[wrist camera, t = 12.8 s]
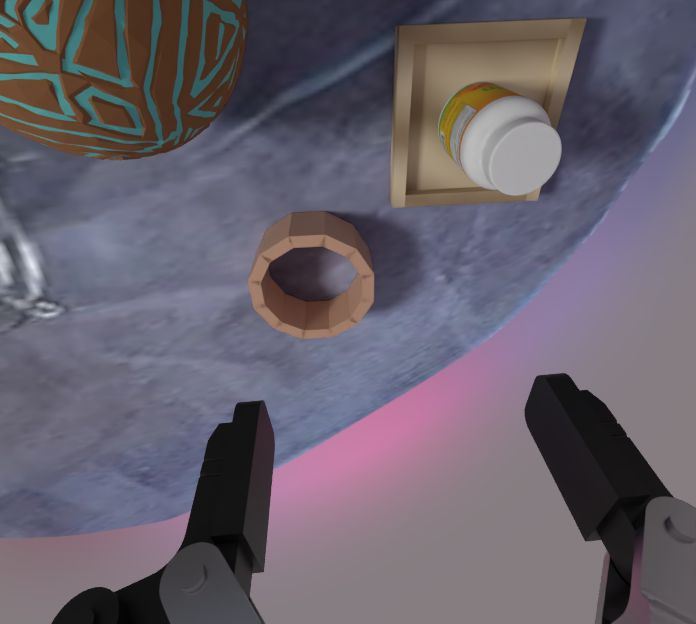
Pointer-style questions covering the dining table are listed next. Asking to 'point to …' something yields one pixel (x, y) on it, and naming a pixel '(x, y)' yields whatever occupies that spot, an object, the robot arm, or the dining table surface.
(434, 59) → the tray
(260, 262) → the holder ring
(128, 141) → the decorative sphere
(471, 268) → the dining table surface
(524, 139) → the supplement bottle
